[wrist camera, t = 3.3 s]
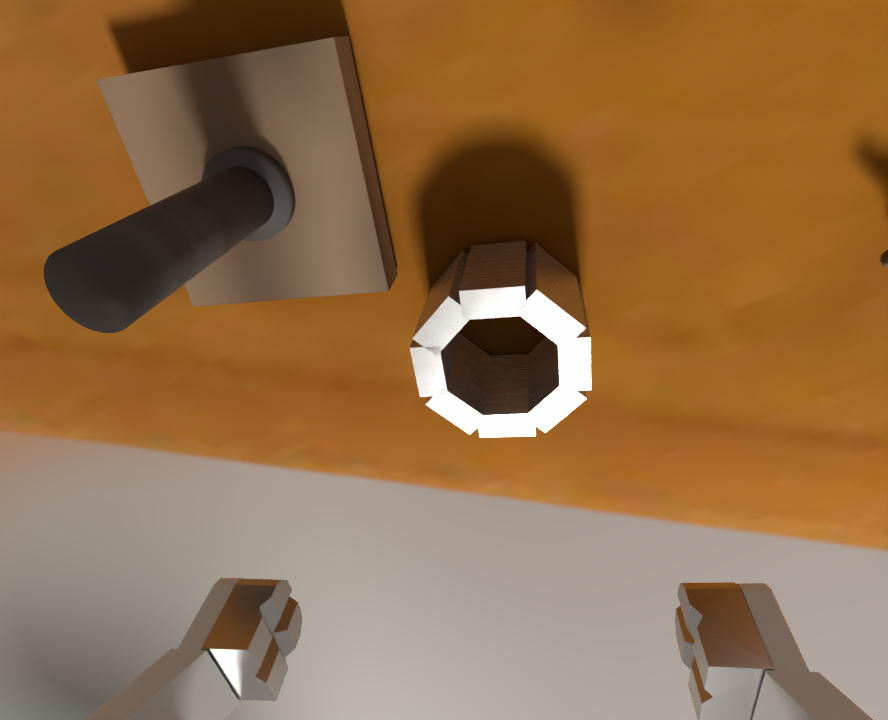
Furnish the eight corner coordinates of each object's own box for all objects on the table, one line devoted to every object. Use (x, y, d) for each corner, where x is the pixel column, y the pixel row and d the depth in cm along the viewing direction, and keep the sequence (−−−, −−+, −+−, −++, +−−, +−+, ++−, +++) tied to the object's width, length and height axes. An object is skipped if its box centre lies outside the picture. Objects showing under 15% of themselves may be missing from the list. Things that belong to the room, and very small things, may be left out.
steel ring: (579, 235, 19) (590, 281, 16) (581, 371, 22) (590, 434, 18) (421, 250, 20) (398, 295, 17) (443, 378, 23) (428, 438, 20)
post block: (348, 35, 17) (180, 47, 9) (397, 274, 21) (314, 431, 13) (126, 75, 18) (-191, 116, 10) (212, 290, 22) (35, 439, 14)
